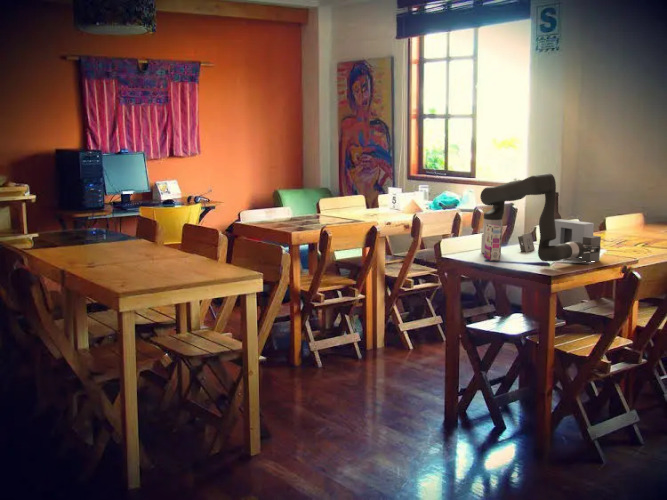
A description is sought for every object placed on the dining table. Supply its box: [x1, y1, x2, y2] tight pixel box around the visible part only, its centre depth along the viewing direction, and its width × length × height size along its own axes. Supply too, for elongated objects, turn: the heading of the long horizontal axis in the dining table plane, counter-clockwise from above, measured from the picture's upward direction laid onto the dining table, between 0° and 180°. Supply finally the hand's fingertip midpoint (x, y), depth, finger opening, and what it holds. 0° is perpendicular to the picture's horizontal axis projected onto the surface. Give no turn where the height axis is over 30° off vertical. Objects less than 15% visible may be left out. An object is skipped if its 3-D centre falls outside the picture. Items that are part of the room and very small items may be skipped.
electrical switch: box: [517, 232, 535, 253], centre depth 400 cm, size 9×5×9 cm, turn 141°
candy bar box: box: [483, 224, 503, 262], centre depth 374 cm, size 11×5×16 cm, turn 5°
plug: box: [580, 234, 602, 263], centre depth 371 cm, size 9×4×12 cm, turn 129°
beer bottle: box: [555, 191, 562, 219], centre depth 402 cm, size 8×8×30 cm
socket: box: [549, 218, 595, 257], centre depth 386 cm, size 8×20×17 cm, turn 39°
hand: (591, 246), depth 370 cm, fingers open, 8 cm apart
